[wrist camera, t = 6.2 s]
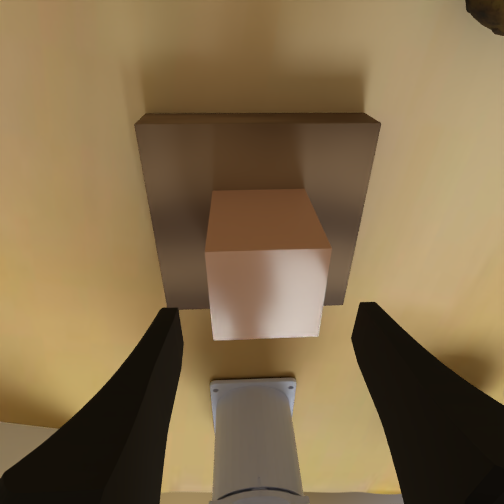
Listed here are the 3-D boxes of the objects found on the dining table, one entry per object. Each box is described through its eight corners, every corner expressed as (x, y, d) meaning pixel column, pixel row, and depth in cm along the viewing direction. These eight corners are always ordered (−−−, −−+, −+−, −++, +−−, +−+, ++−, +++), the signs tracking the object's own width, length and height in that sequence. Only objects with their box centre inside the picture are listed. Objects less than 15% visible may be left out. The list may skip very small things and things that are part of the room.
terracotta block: (297, 263, 21) (318, 336, 16) (218, 265, 21) (213, 340, 16) (304, 188, 18) (331, 248, 13) (212, 190, 18) (204, 252, 13)
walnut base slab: (333, 282, 25) (342, 305, 23) (173, 286, 25) (167, 309, 22) (364, 113, 18) (381, 123, 16) (145, 113, 18) (134, 124, 16)
